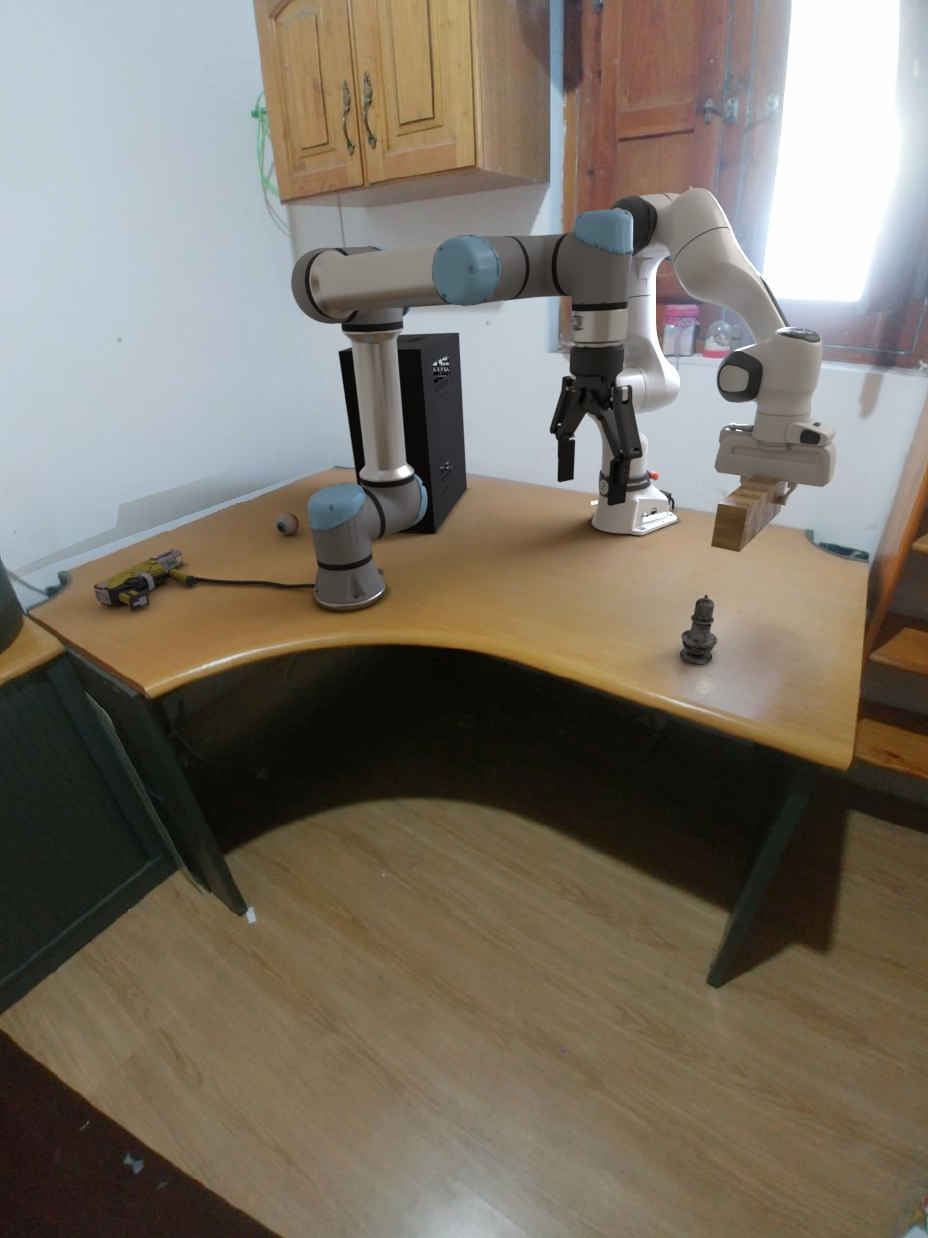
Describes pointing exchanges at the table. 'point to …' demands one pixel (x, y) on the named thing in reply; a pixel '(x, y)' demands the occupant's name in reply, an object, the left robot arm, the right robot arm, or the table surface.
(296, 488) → the table surface
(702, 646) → the dark grey piece
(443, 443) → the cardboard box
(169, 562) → the toy gun
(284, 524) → the eyeball
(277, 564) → the table surface
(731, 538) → the bar
